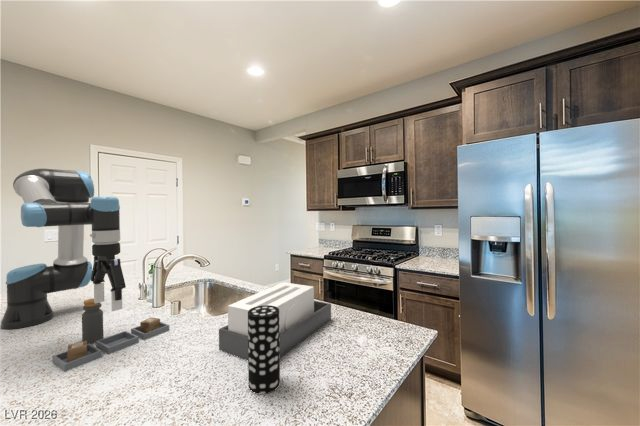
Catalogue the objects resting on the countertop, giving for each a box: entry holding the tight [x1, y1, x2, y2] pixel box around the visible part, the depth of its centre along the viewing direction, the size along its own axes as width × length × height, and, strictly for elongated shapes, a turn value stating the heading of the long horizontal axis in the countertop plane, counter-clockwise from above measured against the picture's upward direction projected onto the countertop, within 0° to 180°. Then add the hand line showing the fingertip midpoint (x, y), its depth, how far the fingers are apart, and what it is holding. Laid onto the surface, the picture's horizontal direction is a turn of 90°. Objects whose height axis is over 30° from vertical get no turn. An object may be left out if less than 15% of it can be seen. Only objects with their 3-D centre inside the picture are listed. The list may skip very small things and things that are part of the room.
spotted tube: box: [247, 305, 281, 394], centre depth 75 cm, size 8×8×20 cm
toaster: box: [227, 281, 315, 337], centre depth 105 cm, size 35×16×15 cm, turn 153°
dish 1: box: [52, 344, 103, 372], centre depth 87 cm, size 9×9×2 cm
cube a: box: [139, 317, 161, 333], centre depth 106 cm, size 4×4×5 cm
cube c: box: [66, 341, 87, 362], centre depth 87 cm, size 4×4×5 cm
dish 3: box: [130, 321, 170, 341], centre depth 106 cm, size 9×9×2 cm
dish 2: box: [95, 330, 140, 355], centre depth 97 cm, size 9×9×2 cm
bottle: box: [81, 298, 104, 345], centre depth 100 cm, size 6×6×15 cm
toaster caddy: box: [218, 300, 332, 361], centre depth 106 cm, size 21×40×7 cm, turn 149°
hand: (107, 306), depth 94 cm, fingers open, 13 cm apart
